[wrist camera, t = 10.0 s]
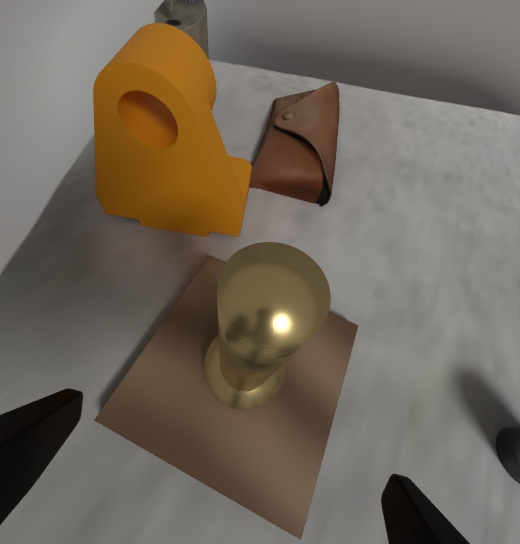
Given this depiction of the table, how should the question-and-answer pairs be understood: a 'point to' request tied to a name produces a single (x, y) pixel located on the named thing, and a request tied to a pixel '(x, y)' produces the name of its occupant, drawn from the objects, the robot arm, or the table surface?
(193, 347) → the board
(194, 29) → the padlock
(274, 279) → the brass pin
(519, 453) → the cylinder
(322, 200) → the sunglasses case
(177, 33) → the bracket
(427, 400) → the table surface
